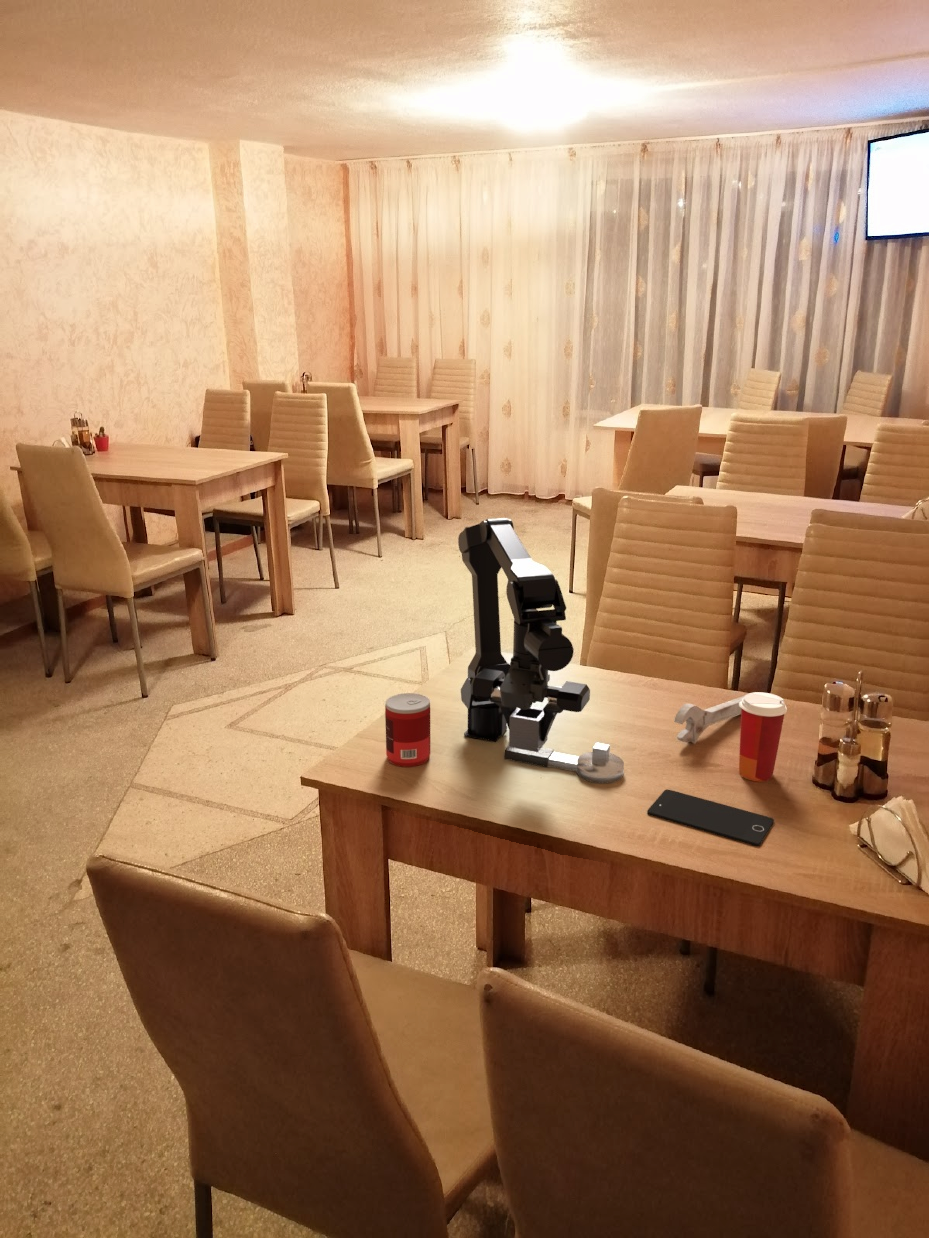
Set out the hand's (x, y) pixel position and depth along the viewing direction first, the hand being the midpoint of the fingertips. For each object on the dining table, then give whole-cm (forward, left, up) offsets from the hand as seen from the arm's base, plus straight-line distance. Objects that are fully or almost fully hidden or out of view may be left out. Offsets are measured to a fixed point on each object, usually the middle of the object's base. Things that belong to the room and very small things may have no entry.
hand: (528, 737), depth 156 cm
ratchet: (+3, +10, -9) cm, 14 cm away
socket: (0, 0, -1) cm, 1 cm away
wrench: (+26, +37, -10) cm, 47 cm away
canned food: (-23, +2, -10) cm, 25 cm away
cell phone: (+30, +2, -10) cm, 32 cm away
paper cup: (+35, +20, -10) cm, 41 cm away
